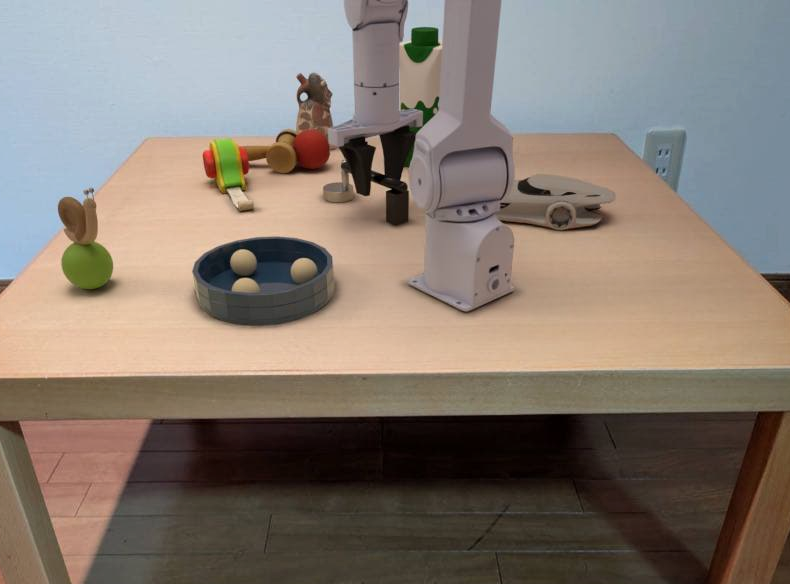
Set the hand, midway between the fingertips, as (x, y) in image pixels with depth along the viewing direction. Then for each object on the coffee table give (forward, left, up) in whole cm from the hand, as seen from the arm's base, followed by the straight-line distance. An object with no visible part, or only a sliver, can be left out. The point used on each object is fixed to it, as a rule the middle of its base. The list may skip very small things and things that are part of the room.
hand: (377, 189), depth 100 cm
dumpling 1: (-6, +25, -1) cm, 26 cm away
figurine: (+32, -13, -4) cm, 35 cm away
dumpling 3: (-12, +21, -1) cm, 24 cm away
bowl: (-10, +25, -3) cm, 27 cm away
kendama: (+27, -1, -4) cm, 27 cm away
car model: (-13, -15, -4) cm, 20 cm away
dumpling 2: (-12, +29, -1) cm, 31 cm away
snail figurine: (+4, +39, -4) cm, 39 cm away
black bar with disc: (+3, 0, -3) cm, 4 cm away
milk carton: (+12, -21, -4) cm, 24 cm away
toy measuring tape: (+22, +10, -4) cm, 24 cm away
